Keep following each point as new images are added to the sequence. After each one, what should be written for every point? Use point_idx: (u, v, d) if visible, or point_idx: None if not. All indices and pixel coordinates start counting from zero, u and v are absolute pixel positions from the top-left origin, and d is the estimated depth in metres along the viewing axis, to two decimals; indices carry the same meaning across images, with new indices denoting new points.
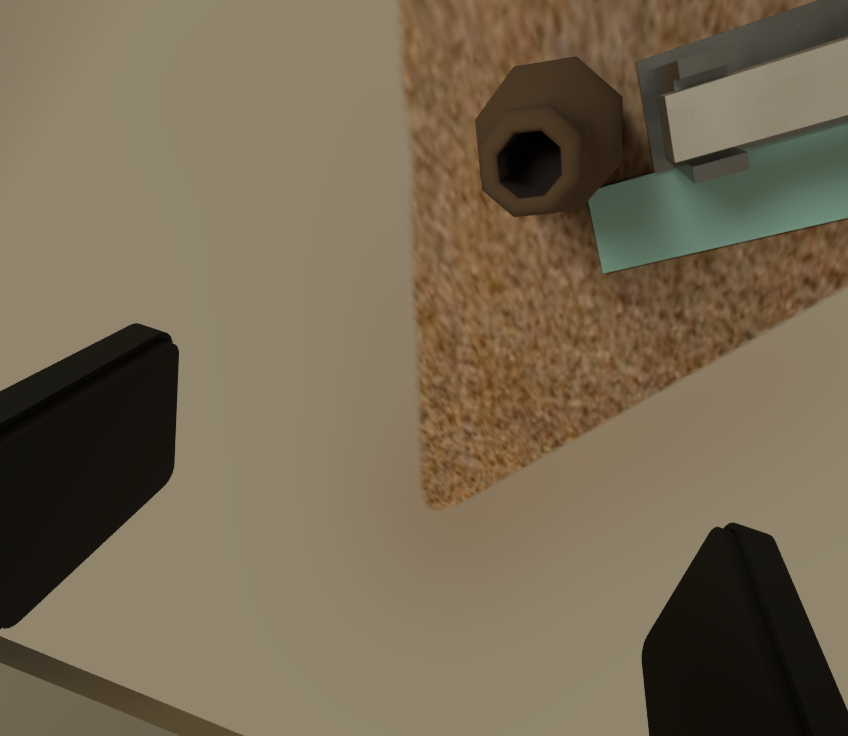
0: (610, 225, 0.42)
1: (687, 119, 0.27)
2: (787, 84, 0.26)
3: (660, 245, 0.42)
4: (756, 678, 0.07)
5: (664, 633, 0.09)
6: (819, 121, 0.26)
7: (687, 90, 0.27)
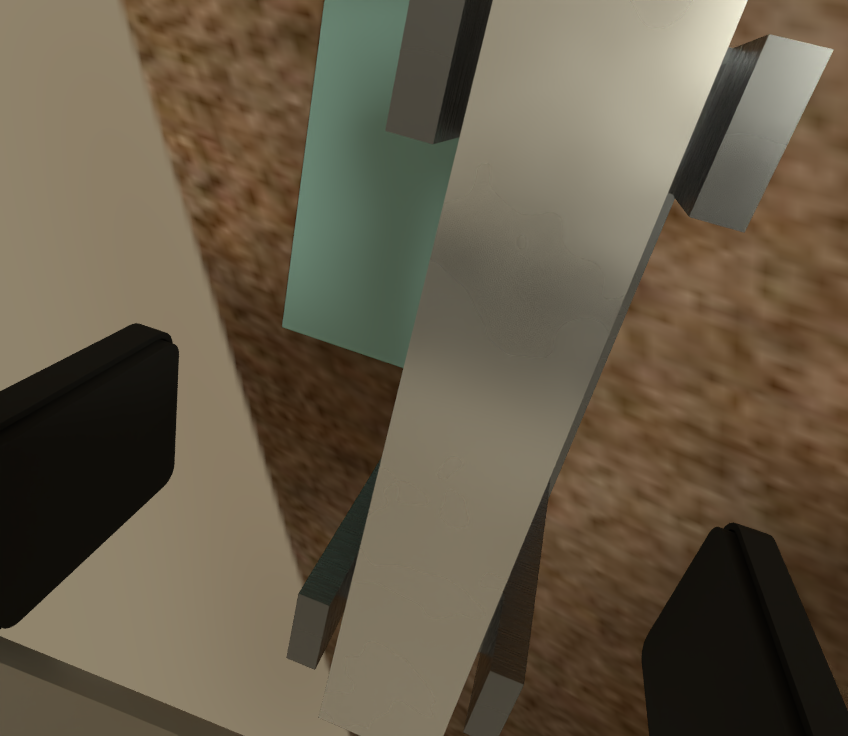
0: None
1: None
2: (548, 299, 0.09)
3: None
4: (757, 677, 0.07)
5: (664, 633, 0.09)
6: (416, 326, 0.10)
7: (729, 32, 0.07)
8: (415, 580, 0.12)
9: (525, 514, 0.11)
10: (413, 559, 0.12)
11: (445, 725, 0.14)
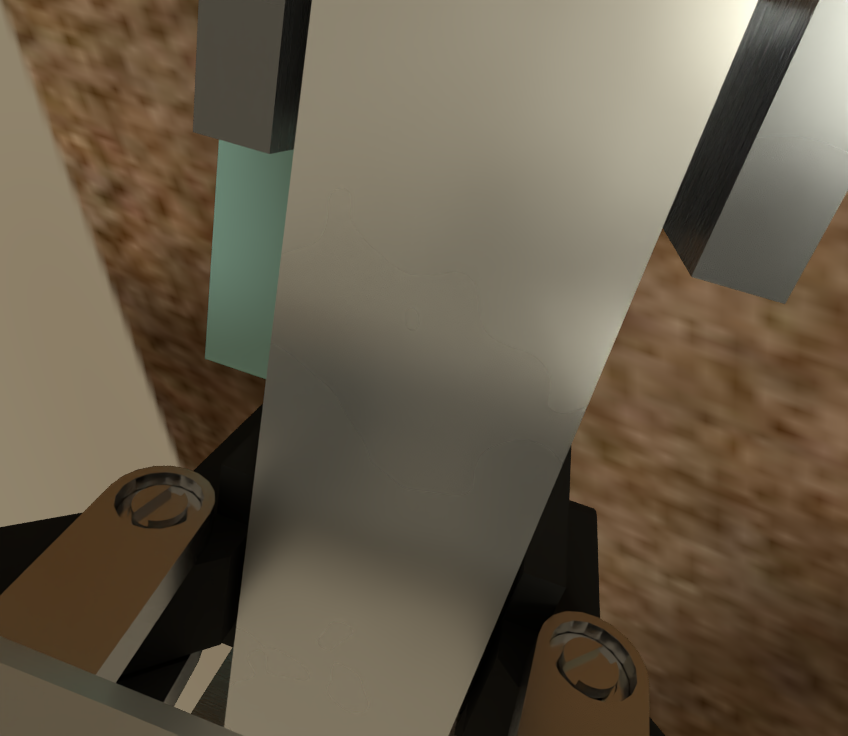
0: None
1: None
2: (461, 410, 0.06)
3: None
4: None
5: None
6: (262, 441, 0.06)
7: None
8: None
9: (448, 702, 0.07)
10: None
11: None
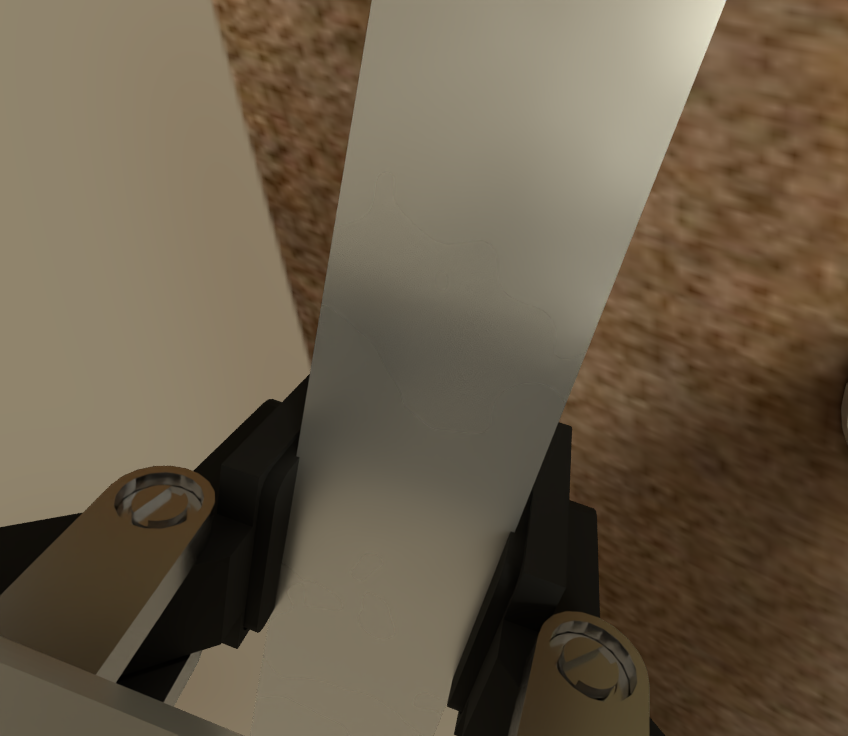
0: None
1: None
2: (481, 358, 0.07)
3: None
4: None
5: None
6: (310, 390, 0.07)
7: None
8: (333, 696, 0.10)
9: (465, 625, 0.08)
10: (329, 672, 0.09)
11: None
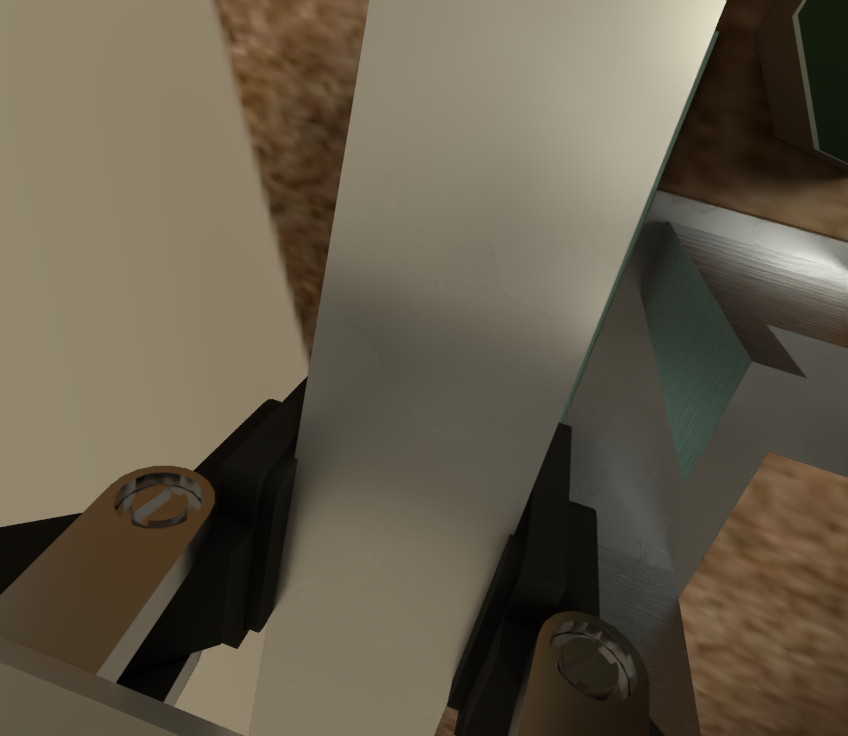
0: None
1: None
2: (480, 359, 0.07)
3: None
4: None
5: None
6: (308, 392, 0.07)
7: None
8: (331, 699, 0.10)
9: (464, 628, 0.08)
10: (328, 675, 0.09)
11: None
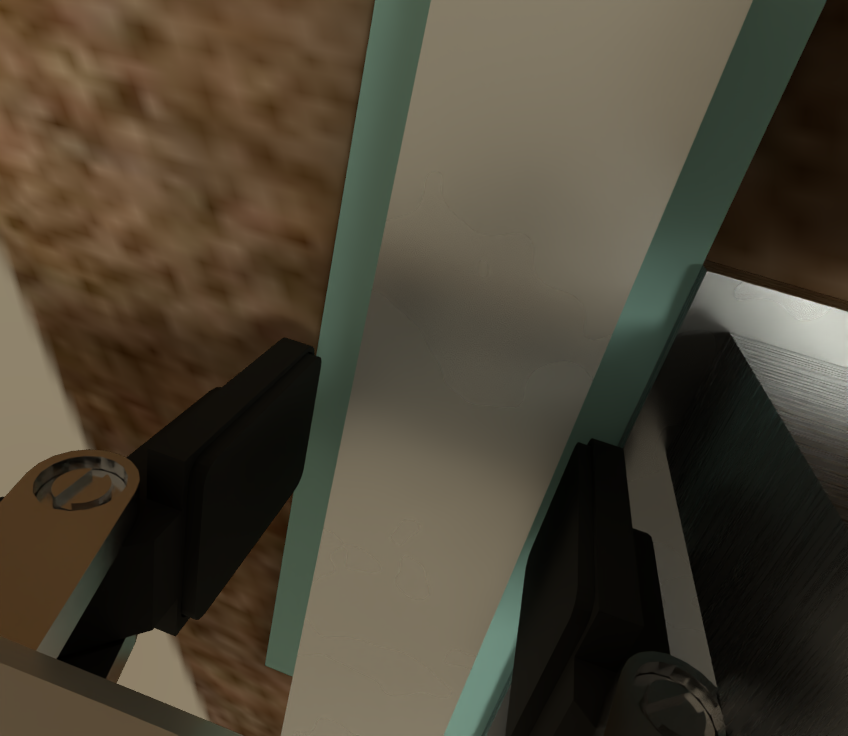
0: None
1: None
2: (517, 339, 0.07)
3: None
4: (573, 546, 0.08)
5: (539, 541, 0.11)
6: (359, 369, 0.08)
7: (745, 3, 0.06)
8: (369, 654, 0.10)
9: (495, 586, 0.09)
10: (366, 631, 0.10)
11: None
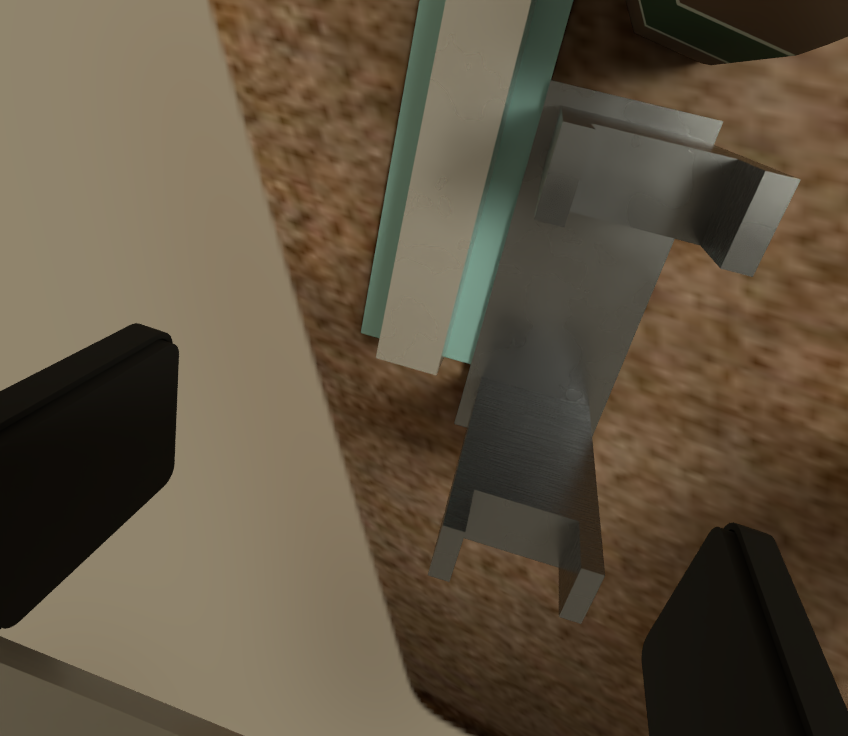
0: None
1: None
2: (479, 92, 0.22)
3: None
4: (757, 677, 0.07)
5: (664, 633, 0.09)
6: (425, 111, 0.23)
7: None
8: (426, 252, 0.26)
9: (476, 203, 0.24)
10: (425, 239, 0.25)
11: (443, 343, 0.27)
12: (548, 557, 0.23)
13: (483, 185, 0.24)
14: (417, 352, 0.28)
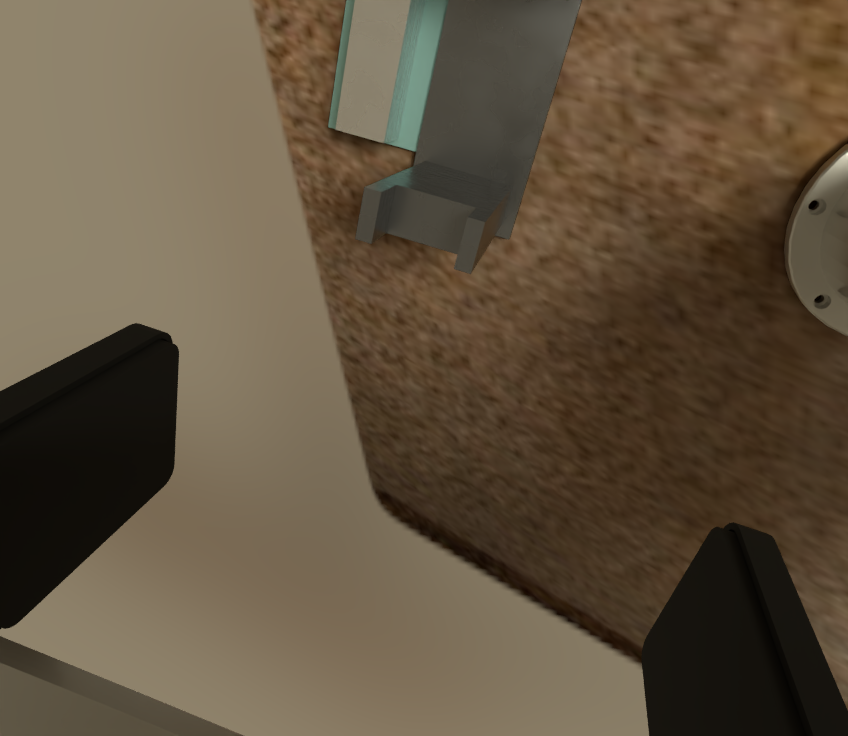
0: None
1: None
2: None
3: None
4: (757, 677, 0.07)
5: (664, 633, 0.09)
6: None
7: None
8: (373, 26, 0.32)
9: None
10: (373, 14, 0.32)
11: (388, 112, 0.33)
12: (455, 246, 0.29)
13: None
14: (368, 122, 0.34)
